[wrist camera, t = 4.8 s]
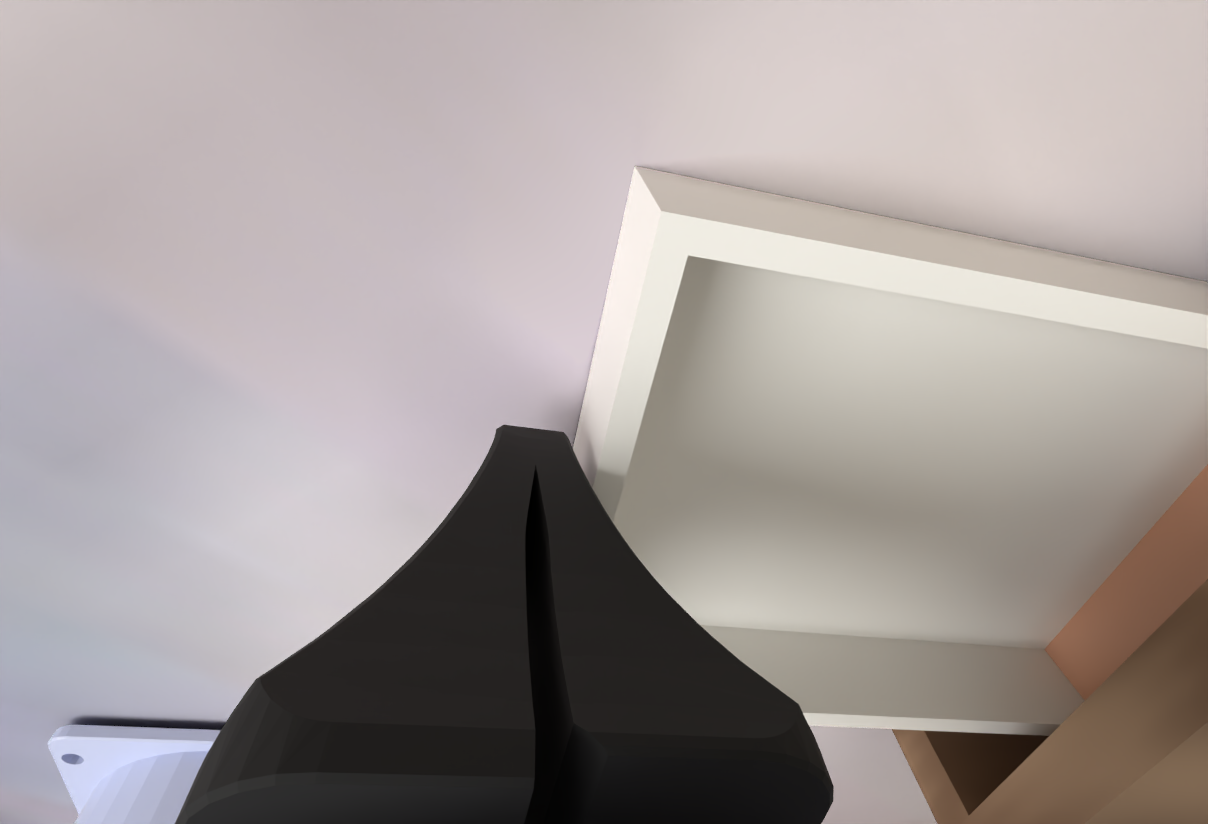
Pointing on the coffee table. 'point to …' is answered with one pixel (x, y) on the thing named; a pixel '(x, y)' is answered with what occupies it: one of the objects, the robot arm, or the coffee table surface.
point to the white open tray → (899, 452)
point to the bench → (1090, 747)
